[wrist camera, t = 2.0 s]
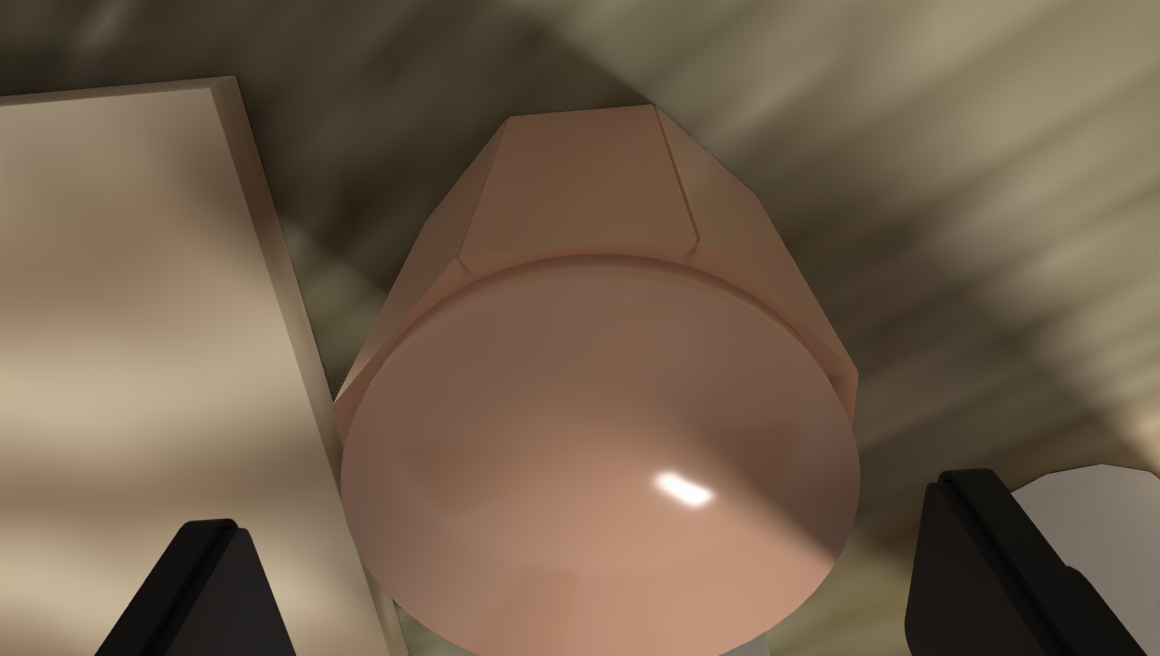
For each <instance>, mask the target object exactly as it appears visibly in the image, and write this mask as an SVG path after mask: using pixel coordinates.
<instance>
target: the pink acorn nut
mask: <svg viewBox="0 0 1160 656" xmlns="http://www.w3.org/2000/svg"><path fill="white" fill-rule="evenodd" d="M858 378H859V373H858V370H857V369H856V367H855V365H854V363H853V362H852V360H851V358H850V357H849V355H848V353H847V351H846V350H845V348H844V346H843V345H842V343H841V341H840V339H839V338H838V336H837V334H836V332H835V331H834V329H833V327H832V326H831V324H830V322H829V320H828V319H827V317H826V315H825V314H824V312H823V310H822V308H821V307H820V305H819V303H818V301H817V300H816V298H815V296H814V295H813V293H812V291H811V289H810V288H809V286H808V284H807V283H806V281H805V279H804V277H803V276H802V274H801V272H800V270H799V269H798V267H797V265H796V264H795V262H794V260H793V258H792V257H791V255H790V253H789V252H788V250H787V248H786V246H785V245H784V243H783V241H782V239H781V238H780V236H779V234H778V233H777V231H776V229H775V227H774V226H773V224H772V222H771V221H770V219H769V217H768V215H767V214H766V212H765V210H764V208H763V207H762V205H761V203H760V202H759V200H758V198H757V196H756V195H755V194H754V193H753V192H752V191H751V190H750V189H749V188H748V187H747V186H745V185H744V184H743V183H742V182H741V181H740V180H739V179H738V178H736V177H735V176H734V175H733V174H732V173H731V172H730V171H729V170H728V169H726V168H725V167H724V166H723V165H722V164H721V163H720V162H719V161H717V160H716V159H715V158H714V157H713V156H712V155H711V154H710V153H708V152H707V151H706V150H705V149H704V148H703V147H702V146H701V145H700V144H698V143H697V142H696V141H695V140H694V139H693V138H692V137H691V136H689V135H688V134H687V133H686V132H685V131H684V130H683V129H682V128H680V127H679V126H678V125H677V124H676V123H675V122H674V121H673V120H672V119H670V118H669V117H668V116H667V115H666V114H665V113H664V112H663V111H661V110H660V109H659V108H658V107H657V106H656V105H655V106H654V107H653V104H649V105H638V106H626V107H614V108H602V109H591V110H579V111H567V112H556V113H544V114H532V115H521V116H510V117H509V119H508V118H507V119H506V120H505V121H504V122H503V124H502V125H501V126H500V127H499V129H498V130H497V131H496V133H495V134H494V135H493V136H492V138H491V139H490V140H489V141H488V143H487V144H486V145H485V146H484V148H483V149H482V150H481V152H480V153H479V154H478V155H477V157H476V158H475V159H474V160H473V162H472V163H471V164H470V166H469V167H468V168H467V169H466V171H465V172H464V173H463V174H462V176H461V177H460V178H459V179H458V181H457V182H456V183H455V185H454V186H453V187H452V188H451V190H450V191H449V192H448V193H447V195H446V196H445V197H444V199H443V200H442V201H441V202H440V204H439V205H438V206H437V207H436V209H435V210H434V211H433V212H432V214H431V215H430V216H429V218H428V219H427V220H426V222H425V224H424V226H423V228H422V230H421V232H420V234H419V236H418V238H417V240H416V242H415V244H414V246H413V248H412V250H411V251H410V253H409V255H408V257H407V259H406V261H405V263H404V265H403V267H402V269H401V271H400V273H399V275H398V277H397V279H396V281H395V283H394V285H393V287H392V289H391V291H390V293H389V295H388V297H387V299H386V301H385V303H384V305H383V307H382V309H381V311H380V313H379V315H378V317H377V318H376V320H375V322H374V324H373V326H372V328H371V330H370V332H369V334H368V336H367V338H366V340H365V342H364V344H363V346H362V348H361V350H360V352H359V354H358V356H357V358H356V360H355V362H354V364H353V366H352V368H351V370H350V372H349V374H348V376H347V378H346V380H345V382H344V384H343V386H342V387H341V389H340V391H339V393H338V395H337V397H336V399H335V401H334V403H333V405H332V406H333V407H332V413H333V416H334V419H335V422H336V426H337V429H338V432H339V436H340V439H341V442H342V446H343V449H344V450H343V459H342V467H341V476H340V477H341V494H342V505H343V509H344V513H345V517H346V522H347V526H348V529H349V532H350V534H351V536H352V539H353V541H354V544H355V546H356V549H357V551H358V553H359V554H360V556H361V558H362V559H363V561H364V563H365V565H366V566H367V568H368V570H369V571H370V573H371V574H372V575H373V577H374V578H375V579H376V580H377V582H378V583H379V584H380V585H381V587H382V588H383V589H384V590H385V592H386V593H387V594H388V595H389V596H390V597H391V598H392V599H393V600H394V601H395V602H396V603H397V604H398V605H399V606H400V607H402V608H403V609H404V610H405V611H406V612H407V613H408V614H410V615H411V616H412V617H413V618H415V619H416V620H417V621H419V622H420V623H421V624H423V625H424V626H425V627H427V628H428V629H430V630H431V631H433V632H435V633H436V634H438V635H440V636H441V637H443V638H445V639H446V640H448V641H450V642H452V643H454V644H456V645H458V646H460V647H462V648H464V649H467V650H469V651H471V652H473V653H475V654H478V655H480V656H718V655H720V654H723V653H726V652H728V651H730V650H732V649H734V648H736V647H738V646H740V645H742V644H745V643H747V642H749V641H751V640H752V639H754V638H756V637H757V636H759V635H761V634H762V633H764V632H765V631H767V630H769V629H770V628H772V627H774V626H775V625H776V624H778V623H779V622H780V621H782V620H783V619H784V618H785V617H787V616H788V615H789V614H791V613H792V612H793V611H794V610H796V609H797V608H798V607H799V606H800V605H801V604H802V603H803V602H804V601H805V600H806V599H807V598H808V597H809V596H810V595H811V594H812V593H813V592H814V591H815V590H816V589H817V587H818V586H819V585H820V584H821V582H822V581H823V580H824V578H825V577H826V576H827V575H828V573H829V572H830V571H831V570H832V568H833V566H834V564H835V563H836V561H837V559H838V557H839V556H840V554H841V552H842V550H843V549H844V547H845V545H846V542H847V540H848V537H849V534H850V532H851V529H852V527H853V524H854V521H855V516H856V511H857V507H858V502H859V497H860V463H859V456H858V449H857V443H856V440H855V437H854V434H853V422H854V413H855V404H856V395H857V387H858Z"/></svg>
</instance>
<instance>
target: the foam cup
mask: <svg viewBox="0 0 1160 656" xmlns="http://www.w3.org/2000/svg"><path fill="white" fill-rule="evenodd" d="M1011 494H1012V495H1013V497H1014V498H1015V499H1016V501H1017V502H1018V503H1019V505H1020V506H1021V507H1022V509H1023V510H1024V511H1025V512H1026V514H1027V515H1028V516H1029V518H1030V519H1031V520H1032V522H1033V523H1034V524H1035V526H1036V527H1037V528H1038V529H1039V531H1040V532H1041V533H1042V535H1043V536H1044V537H1045V539H1046V540H1047V541H1048V543H1049V544H1050V545H1051V546H1052V548H1053V549H1054V550H1055V552H1056V553H1057V554H1058V556H1059V557H1060V558H1061V560H1062V561H1063V562H1064V563H1065V565H1066V566H1071V567H1073V568H1074V569H1076V570H1078V571H1080V572H1081V573H1082V574H1083V575H1084V576H1085V577H1086V578H1087V579H1088V581H1089V582H1090V583H1091V584H1092V585H1093V587H1094V588H1095V589H1096V591H1097V592H1098V593H1099V594H1100V596H1101V597H1102V598H1103V599H1104V601H1105V602H1106V603H1107V605H1108V606H1109V607H1110V608H1111V610H1112V611H1113V612H1114V614H1115V615H1116V616H1117V617H1118V619H1119V620H1120V621H1121V622H1122V624H1123V625H1124V626H1125V628H1126V629H1127V630H1128V631H1129V633H1130V634H1131V635H1132V637H1133V638H1134V639H1135V640H1136V642H1137V643H1138V644H1139V646H1140V647H1141V648H1142V649H1143V651H1144V652H1145V653H1146V654H1147V656H1160V479H1158V478H1157V477H1156V476H1155V475H1153V474H1152V473H1151V472H1148V471H1142V470H1136V469H1129V468H1123V467H1117V466H1111V465H1105V464H1099V465H1094V466H1088V467H1083V468H1078V469H1072V470H1067V471H1062V472H1056V473H1051V474H1046V475H1044V476H1042V477H1040V478H1039V479H1037V480H1035V481H1033V482H1031V483H1029V484H1027V485H1025V486H1023V487H1021V488H1019V489H1018V490H1016V491H1014V492H1012V493H1011Z"/></svg>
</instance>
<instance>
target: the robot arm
mask: <svg viewBox="0 0 1160 656" xmlns="http://www.w3.org/2000/svg"><path fill="white" fill-rule="evenodd" d="M905 635H906V640H907V643H908V646H909V649H910V652H911V654H912V656H1147V654H1146V653H1145V652H1144V651H1143V649H1142V648H1141V647H1140V646H1139V644H1138V643H1137V642H1136V640H1135V639H1134V638H1133V637H1132V635H1131V634H1130V633H1129V631H1128V630H1127V629H1126V628H1125V626H1124V625H1123V624H1122V622H1121V621H1120V620H1119V619H1118V617H1117V616H1116V615H1115V614H1114V612H1113V611H1112V610H1111V608H1110V607H1109V606H1108V605H1107V603H1106V602H1105V601H1104V599H1103V598H1102V597H1101V596H1100V594H1099V593H1098V592H1097V591H1096V589H1095V588H1094V587H1093V585H1092V584H1091V583H1090V582H1089V581H1088V579H1087V578H1086V577H1085V576H1084V575H1083V574H1082V573H1081V572H1080V571H1078V570H1076V569H1074V568H1073V567H1071V566H1066V565H1065V563H1064V562H1063V561H1062V560H1061V558H1060V557H1059V556H1058V554H1057V553H1056V552H1055V550H1054V549H1053V548H1052V546H1051V545H1050V544H1049V543H1048V541H1047V540H1046V539H1045V537H1044V536H1043V535H1042V533H1041V532H1040V531H1039V529H1038V528H1037V527H1036V526H1035V524H1034V523H1033V522H1032V520H1031V519H1030V518H1029V516H1028V515H1027V514H1026V512H1025V511H1024V510H1023V509H1022V507H1021V506H1020V505H1019V503H1018V502H1017V501H1016V499H1015V498H1014V497H1013V495H1012V494H1011V493H1010V492H1009V490H1008V489H1007V488H1006V486H1005V485H1004V484H1003V482H1002V481H1001V480H1000V479H999V477H998V476H997V475H996V474H995V473H994V472H993V471H992V470H990V469H988V468H981V469H966V470H951V471H944V472H942V473H941V475H940V476H939V479H938V482H936V483H929V484H928V486H927V488H926V492H925V498H924V504H923V511H922V517H921V523H920V529H919V535H918V541H917V548H916V554H915V560H914V566H913V572H912V578H911V585H910V591H909V597H908V603H907V609H906V616H905ZM94 656H296V653H295V650H294V647H293V645H292V642H291V640H290V637H289V634H288V632H287V629H286V626H285V624H284V621H283V619H282V616H281V613H280V611H279V608H278V606H277V603H276V600H275V598H274V595H273V592H272V590H271V587H270V585H269V582H268V579H267V577H266V574H265V571H264V569H263V566H262V564H261V561H260V558H259V556H258V553H257V550H256V548H255V545H254V543H253V540H252V537H251V535H250V533H249V531H248V530H247V529H245V528H239V527H238V525H237V523H236V522H235V521H234V520H233V519H229V518H224V519H209V520H194V521H188V522H186V523H184V524H183V526H182V527H181V528H180V529H179V530H178V532H177V533H176V535H175V536H174V538H173V539H172V541H171V542H170V544H169V545H168V547H167V548H166V550H165V551H164V553H163V554H162V556H161V557H160V558H159V560H158V561H157V563H156V564H155V566H154V567H153V569H152V570H151V572H150V573H149V575H148V576H147V578H146V579H145V581H144V582H143V584H142V585H141V587H140V588H139V590H138V591H137V593H136V594H135V596H134V597H133V599H132V600H131V601H130V603H129V604H128V606H127V607H126V609H125V610H124V612H123V613H122V615H121V616H120V618H119V619H118V621H117V622H116V624H115V625H114V627H113V628H112V630H111V631H110V633H109V634H108V636H107V637H106V639H105V640H104V642H103V643H102V644H101V646H100V647H99V649H98V650H97V652H96V653H95V655H94Z"/></svg>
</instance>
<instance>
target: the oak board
mask: <svg viewBox="0 0 1160 656" xmlns="http://www.w3.org/2000/svg"><path fill="white" fill-rule="evenodd" d="M332 405H333V400H332V397H331V393H330V390H329V387H328V383H327V380H326V377H325V373H324V370H323V367H322V363H321V360H320V357H319V353H318V350H317V347H316V343H315V340H314V337H313V333H312V330H311V327H310V323H309V320H308V317H307V313H306V310H305V307H304V303H303V300H302V297H301V293H300V290H299V286H298V283H297V280H296V276H295V273H294V270H293V266H292V263H291V260H290V256H289V253H288V250H287V246H286V243H285V240H284V236H283V233H282V230H281V226H280V223H279V220H278V216H277V213H276V210H275V206H274V203H273V200H272V196H271V193H270V190H269V186H268V183H267V180H266V176H265V173H264V170H263V166H262V163H261V160H260V156H259V153H258V150H257V146H256V143H255V140H254V136H253V133H252V130H251V126H250V123H249V120H248V116H247V113H246V109H245V106H244V103H243V99H242V96H241V93H240V89H239V86H238V83H237V79H236V76H235V75H234V76H223V77H212V78H201V79H190V80H179V81H168V82H156V83H145V84H134V85H123V86H112V87H101V88H90V89H78V90H67V91H56V92H45V93H34V94H23V95H12V96H0V656H94V655H95V653H96V652H97V650H98V649H99V647H100V646H101V644H102V643H103V642H104V640H105V639H106V637H107V636H108V634H109V633H110V631H111V630H112V628H113V627H114V625H115V624H116V622H117V621H118V619H119V618H120V616H121V615H122V613H123V612H124V610H125V609H126V607H127V606H128V604H129V603H130V601H131V600H132V599H133V597H134V596H135V594H136V593H137V591H138V590H139V588H140V587H141V585H142V584H143V582H144V581H145V579H146V578H147V576H148V575H149V573H150V572H151V570H152V569H153V567H154V566H155V564H156V563H157V561H158V560H159V558H160V557H161V556H162V554H163V553H164V551H165V550H166V548H167V547H168V545H169V544H170V542H171V541H172V539H173V538H174V536H175V535H176V533H177V532H178V530H179V529H180V528H181V527H182V526H183V524H184V523H186V522H188V521H194V520H209V519H224V518H229V519H233V520H234V521H235V522H236V523H237V525H238V527H239V528H245V529H247V530H248V531H249V533H250V535H251V537H252V540H253V543H254V545H255V548H256V550H257V553H258V556H259V558H260V561H261V564H262V566H263V569H264V571H265V574H266V577H267V579H268V582H269V585H270V587H271V590H272V592H273V595H274V598H275V600H276V603H277V606H278V608H279V611H280V613H281V616H282V619H283V621H284V624H285V626H286V629H287V632H288V634H289V637H290V640H291V642H292V645H293V647H294V650H295V653H296V656H408V651H407V647H406V644H405V640H404V637H403V634H402V630H401V627H400V624H399V620H398V617H397V614H396V610H395V607H394V604H393V600H392V598H391V597H390V596H389V595H388V594H387V593H386V592H385V590H384V589H383V588H382V587H381V585H380V584H379V583H378V582H377V580H376V579H375V578H374V577H373V575H372V574H371V573H370V571H369V570H368V568H367V566H366V565H365V563H364V561H363V559H362V558H361V556H360V554H359V553H358V551H357V549H356V546H355V544H354V541H353V539H352V536H351V534H350V532H349V529H348V526H347V522H346V517H345V513H344V509H343V505H342V494H341V477H340V476H341V467H342V459H343V450H344V449H343V446H342V442H341V439H340V436H339V432H338V429H337V426H336V422H335V419H334V416H333V413H332V407H333V406H332Z"/></svg>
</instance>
